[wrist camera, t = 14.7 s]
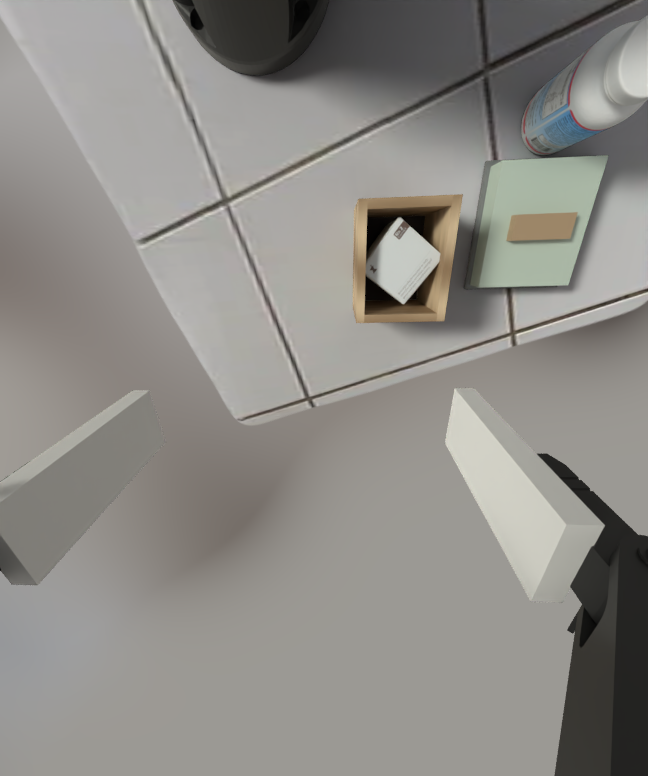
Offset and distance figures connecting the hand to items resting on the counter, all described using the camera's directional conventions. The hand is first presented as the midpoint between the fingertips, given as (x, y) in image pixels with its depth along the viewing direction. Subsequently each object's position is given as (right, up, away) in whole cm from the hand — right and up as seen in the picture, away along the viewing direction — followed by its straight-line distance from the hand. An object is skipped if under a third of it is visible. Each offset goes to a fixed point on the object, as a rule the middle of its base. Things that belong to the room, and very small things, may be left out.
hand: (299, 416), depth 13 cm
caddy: (+9, +17, +23) cm, 30 cm away
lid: (+24, +19, +21) cm, 37 cm away
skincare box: (+9, +17, +23) cm, 30 cm away
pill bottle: (+24, +29, +17) cm, 41 cm away
